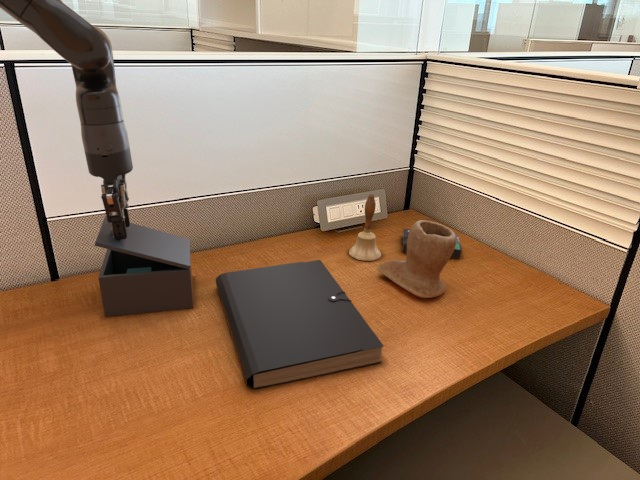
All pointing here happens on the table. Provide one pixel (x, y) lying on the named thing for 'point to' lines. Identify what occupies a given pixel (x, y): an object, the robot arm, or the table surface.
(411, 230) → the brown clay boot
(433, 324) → the table surface
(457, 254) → the disk drive
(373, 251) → the hand bell
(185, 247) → the bin lid
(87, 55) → the robot arm
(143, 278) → the bin
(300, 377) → the dark grey notebook
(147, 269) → the block
